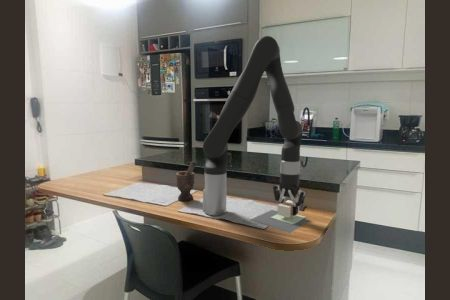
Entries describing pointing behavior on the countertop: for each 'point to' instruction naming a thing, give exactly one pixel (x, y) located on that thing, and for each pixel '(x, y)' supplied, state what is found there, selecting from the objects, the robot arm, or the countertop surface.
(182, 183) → the mortar and pestle
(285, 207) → the card box
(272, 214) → the mat
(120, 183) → the countertop surface
